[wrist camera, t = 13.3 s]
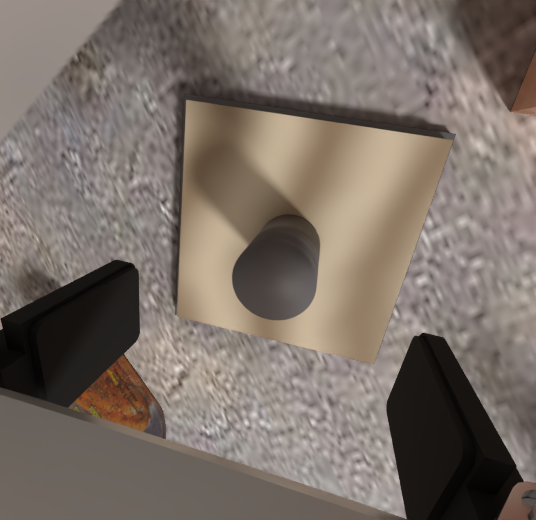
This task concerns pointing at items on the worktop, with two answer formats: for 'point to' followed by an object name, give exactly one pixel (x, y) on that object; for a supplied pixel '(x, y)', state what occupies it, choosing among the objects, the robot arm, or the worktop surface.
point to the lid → (300, 225)
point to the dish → (527, 92)
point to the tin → (123, 400)
